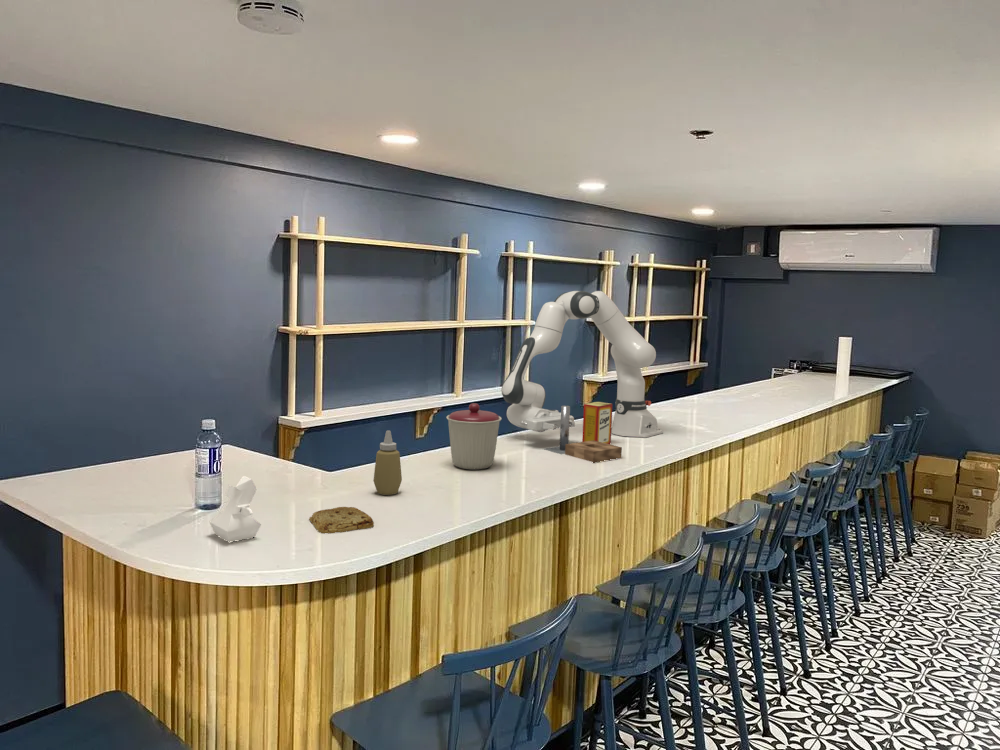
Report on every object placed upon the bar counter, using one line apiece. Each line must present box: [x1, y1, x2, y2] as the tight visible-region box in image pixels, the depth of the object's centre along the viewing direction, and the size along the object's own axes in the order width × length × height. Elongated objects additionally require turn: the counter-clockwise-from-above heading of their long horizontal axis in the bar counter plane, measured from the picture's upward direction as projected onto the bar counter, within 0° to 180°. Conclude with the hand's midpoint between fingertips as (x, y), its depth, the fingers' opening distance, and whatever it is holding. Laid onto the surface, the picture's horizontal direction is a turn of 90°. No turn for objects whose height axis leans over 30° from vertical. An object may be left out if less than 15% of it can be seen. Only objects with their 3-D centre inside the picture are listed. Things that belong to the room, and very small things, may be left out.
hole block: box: [564, 440, 622, 464], centre depth 281 cm, size 14×14×4 cm
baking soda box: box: [581, 401, 613, 445], centre depth 302 cm, size 10×6×16 cm
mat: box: [543, 445, 565, 455], centre depth 290 cm, size 12×10×1 cm
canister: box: [445, 402, 502, 471], centre depth 260 cm, size 18×18×21 cm
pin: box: [559, 405, 571, 451], centre depth 289 cm, size 3×3×16 cm
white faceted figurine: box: [209, 475, 262, 542], centre depth 184 cm, size 8×14×14 cm, turn 44°
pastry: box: [308, 506, 375, 534], centre depth 197 cm, size 17×17×3 cm
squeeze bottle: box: [373, 430, 403, 496], centre depth 225 cm, size 8×8×18 cm
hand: (564, 425), depth 289 cm, fingers open, 8 cm apart
